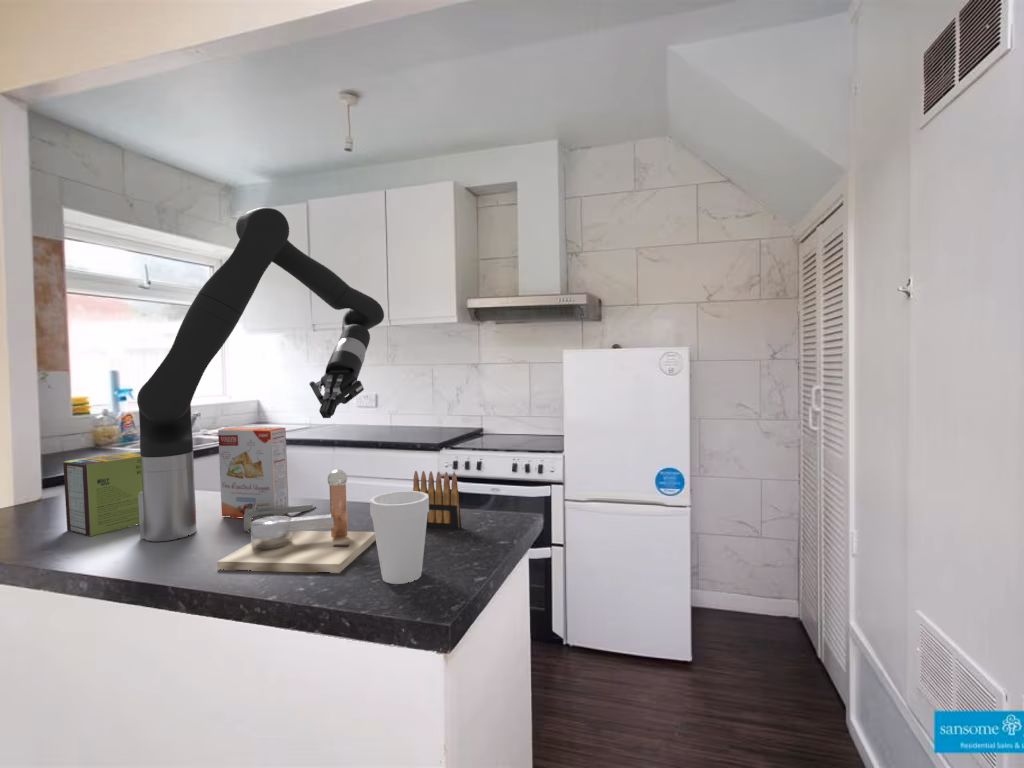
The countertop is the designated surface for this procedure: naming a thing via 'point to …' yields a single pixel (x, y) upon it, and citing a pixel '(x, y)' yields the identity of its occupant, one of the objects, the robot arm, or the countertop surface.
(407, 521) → the foam cup
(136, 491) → the protein box
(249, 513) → the caliper
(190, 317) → the robot arm
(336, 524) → the lever
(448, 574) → the countertop surface
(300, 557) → the stand plate
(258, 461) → the cracker box
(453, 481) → the ammunition clip
